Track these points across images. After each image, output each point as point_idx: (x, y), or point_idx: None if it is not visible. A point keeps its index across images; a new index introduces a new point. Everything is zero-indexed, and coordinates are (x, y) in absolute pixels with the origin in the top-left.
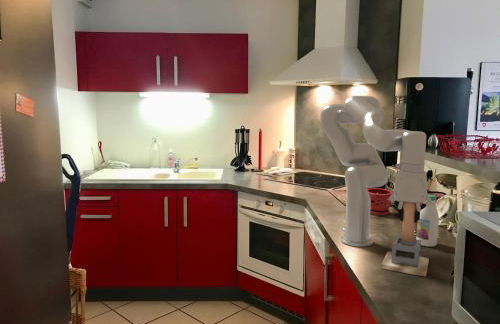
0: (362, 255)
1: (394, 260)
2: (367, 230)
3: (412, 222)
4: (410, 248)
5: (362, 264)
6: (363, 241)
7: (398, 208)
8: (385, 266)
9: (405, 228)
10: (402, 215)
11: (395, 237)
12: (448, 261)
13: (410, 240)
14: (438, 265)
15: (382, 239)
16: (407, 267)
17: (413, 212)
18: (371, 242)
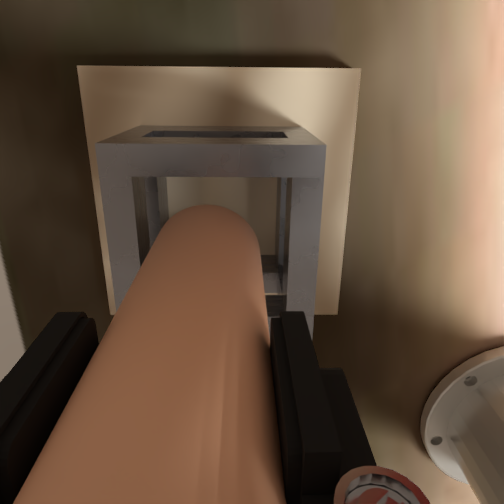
0: (471, 234)
1: (285, 128)
2: (494, 464)
3: (124, 311)
4: (171, 140)
5: (471, 82)
6: (480, 393)
7: (407, 485)
8: (332, 69)
9: (222, 255)
10: (282, 367)
11: (313, 313)
12: None
13: (176, 214)
14: (62, 280)
15: None
16: (197, 96)
17: (53, 436)
18: (431, 411)
